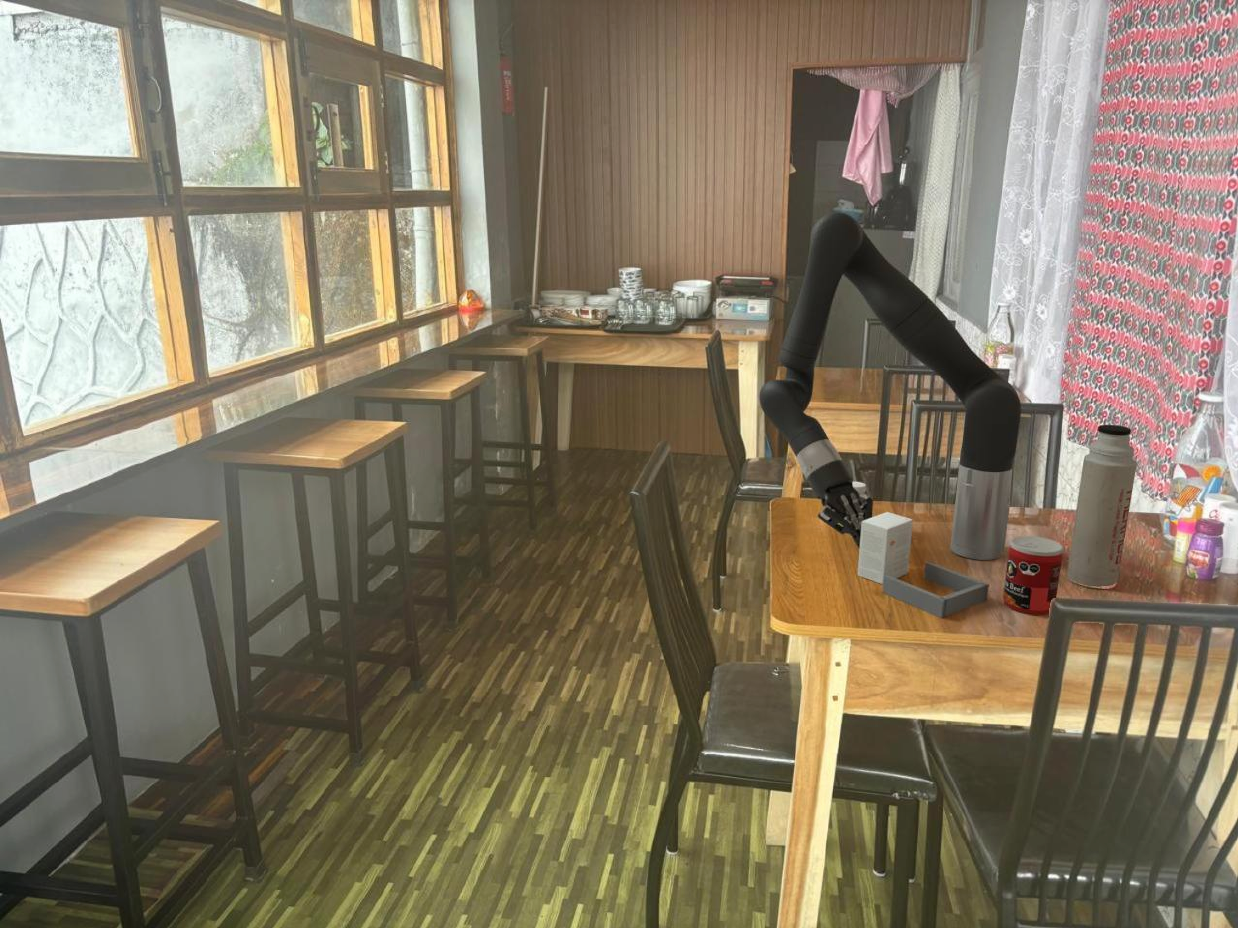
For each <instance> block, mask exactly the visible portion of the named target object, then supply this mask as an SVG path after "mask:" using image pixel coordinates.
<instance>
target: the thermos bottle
mask: <svg viewBox="0 0 1238 928" xmlns="http://www.w3.org/2000/svg"><path fill="white" fill-rule="evenodd" d="M1097 431H1098V433H1097V437H1096V441H1093V442H1092V443H1091V444H1090V445H1089V447H1088V451H1089V453H1088V454H1086V455H1084V457H1083V463H1082V467H1081V468H1082V469H1081V475H1080V476H1081V477H1080V483H1079V488H1078V496H1077V503H1076V511H1075V515H1074V516H1075V518H1074V523H1073V524H1074V525H1073V534H1072V539H1071V545H1070V550H1069V551H1070V552H1069V556H1068V557H1069V558H1068V564H1067V565H1068V566H1067V571H1066V577H1067V576H1068V578H1069V579H1071V580H1072V581H1075V582H1077V583H1080V584H1083V585H1088V586H1097V587H1099V586H1100V587H1101V586H1110V585H1113V584H1115V583H1116V582H1117V581H1118V580H1119V575H1120V570H1121V569H1120V568H1121V562H1122V556H1123V549H1124V544H1125V538H1126V530H1127V526H1128V519H1129V514H1130V506H1131V501H1132V494H1133V489H1134V484H1135V483H1134V482H1135V477H1136V471H1137V464H1138V462H1137V461H1136V460H1135V459H1134V456H1135V449H1134V447H1133V446H1131V445H1130V441H1131V437H1130V435H1131V432H1132V429H1131V428H1129V427H1126V426H1122V425H1117V424H1101V425H1100V424H1099V426H1098V427H1097ZM1068 578H1067V579H1068ZM1117 583H1118V582H1117Z"/></svg>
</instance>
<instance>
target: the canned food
mask: <svg viewBox="0 0 1238 928" xmlns="http://www.w3.org/2000/svg"><path fill="white" fill-rule="evenodd" d="M1063 556H1064V546H1063V545H1062V544H1061V543H1059V542H1058V541H1055V540H1053V539H1049V538H1045V537H1042V536H1035V535H1022V536H1015V537H1013V538H1011V539H1010V541H1009V547H1008V553H1007V563H1006V570H1005V579H1004V586H1003V594H1002V598H1003V603H1004V604H1005V606H1006V607H1007V608H1009V609H1010V608H1011V610H1012V611H1015V612H1018V613H1022V614H1026V615H1031V616H1035V615H1036V616H1040V615H1041V616H1042V615H1047V614H1050V613H1049V608H1050V603H1051V600H1052V599H1053V598H1056V599H1057V596H1058V589H1059V583H1060V581H1059V580H1060V575H1061V568H1062V561H1063Z"/></svg>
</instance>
